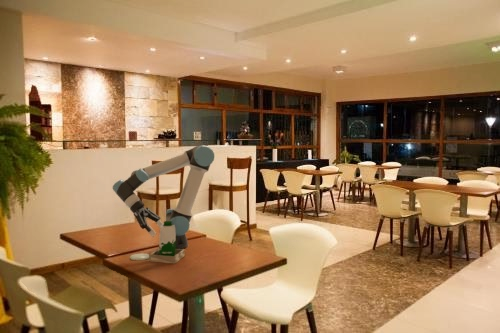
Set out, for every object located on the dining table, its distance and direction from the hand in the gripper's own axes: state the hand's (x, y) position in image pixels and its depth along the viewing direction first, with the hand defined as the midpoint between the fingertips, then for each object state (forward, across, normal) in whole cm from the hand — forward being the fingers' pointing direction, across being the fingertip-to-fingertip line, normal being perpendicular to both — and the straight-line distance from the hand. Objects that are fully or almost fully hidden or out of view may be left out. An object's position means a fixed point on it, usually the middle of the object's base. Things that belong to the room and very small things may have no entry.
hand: (160, 232), depth 211 cm
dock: (+13, -1, -7) cm, 15 cm away
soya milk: (+13, -1, -7) cm, 15 cm away
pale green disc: (+2, +1, -18) cm, 18 cm away
